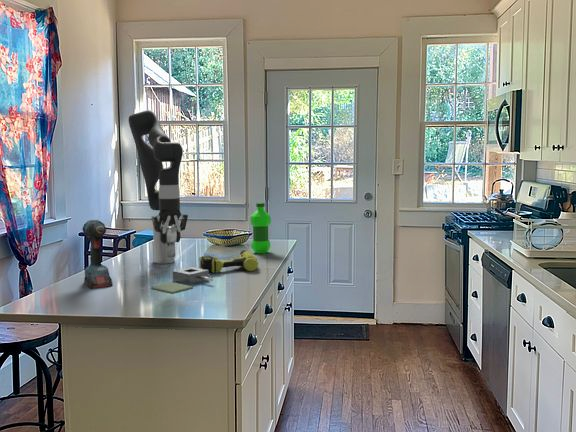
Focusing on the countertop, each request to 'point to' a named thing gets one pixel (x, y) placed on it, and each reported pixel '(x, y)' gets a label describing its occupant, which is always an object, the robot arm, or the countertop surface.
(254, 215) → the plastic bottle
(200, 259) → the cordless drill
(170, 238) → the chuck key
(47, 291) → the countertop surface
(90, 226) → the power drill
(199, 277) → the block
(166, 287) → the mat
